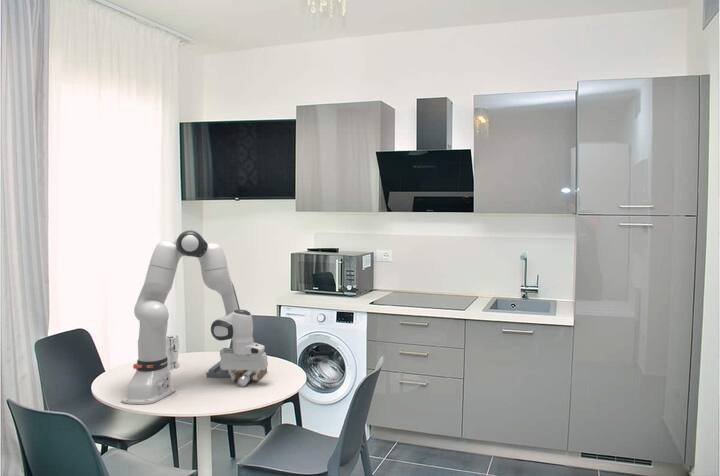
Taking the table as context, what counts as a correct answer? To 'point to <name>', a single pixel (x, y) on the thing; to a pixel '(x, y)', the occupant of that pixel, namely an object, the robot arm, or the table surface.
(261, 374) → the wooden channel cradle
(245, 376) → the axle
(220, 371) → the v block
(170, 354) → the beer glass
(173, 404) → the table surface
